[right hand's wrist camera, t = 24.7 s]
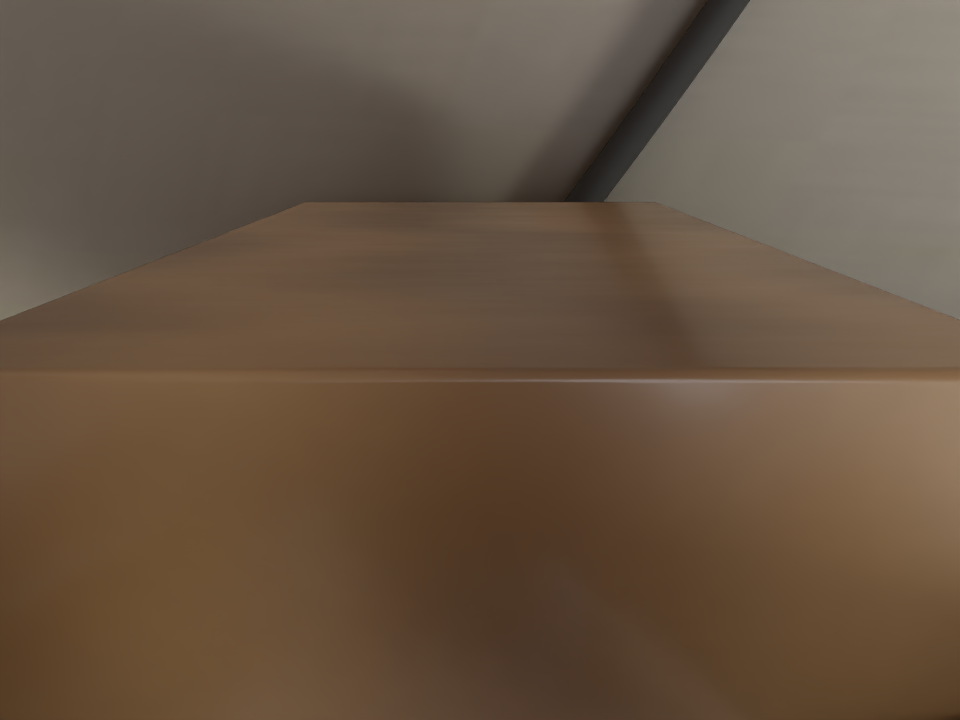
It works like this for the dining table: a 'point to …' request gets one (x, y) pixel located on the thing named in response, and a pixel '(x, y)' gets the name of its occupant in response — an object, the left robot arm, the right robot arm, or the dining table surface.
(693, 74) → the right robot arm
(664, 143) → the dining table surface
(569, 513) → the block
